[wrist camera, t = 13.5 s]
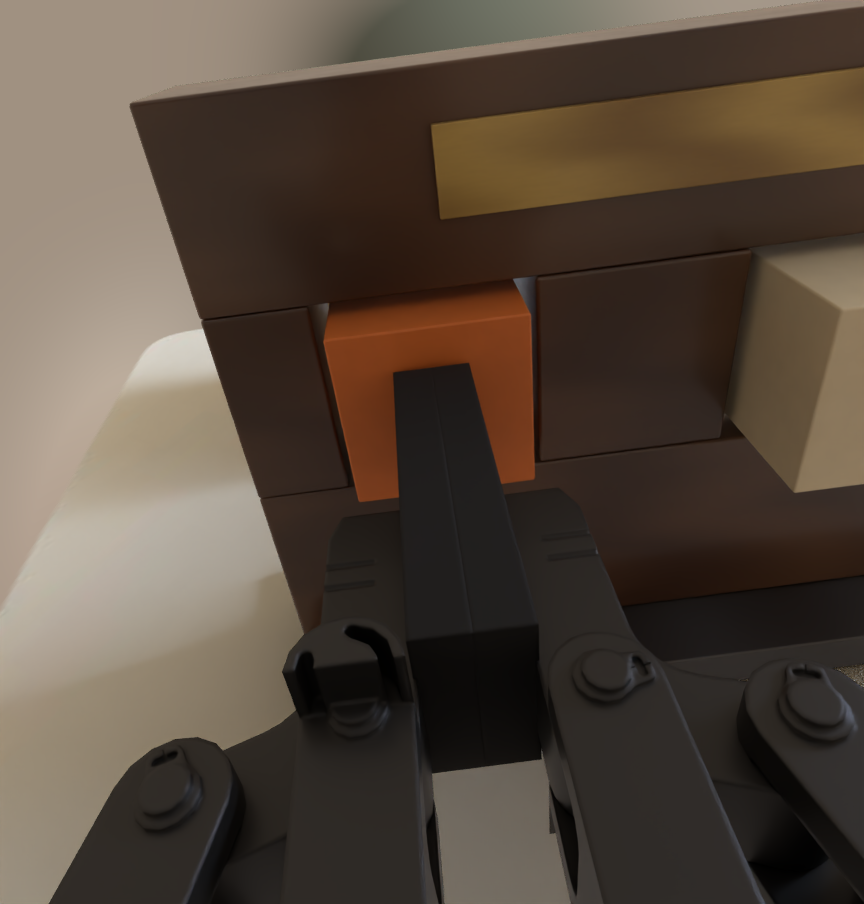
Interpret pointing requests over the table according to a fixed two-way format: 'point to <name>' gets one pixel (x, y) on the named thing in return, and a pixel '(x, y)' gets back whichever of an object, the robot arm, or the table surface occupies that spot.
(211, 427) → the table surface
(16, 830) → the table surface
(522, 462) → the orange key
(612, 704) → the robot arm
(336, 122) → the brown wooden upright panel
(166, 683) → the table surface
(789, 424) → the beige key
